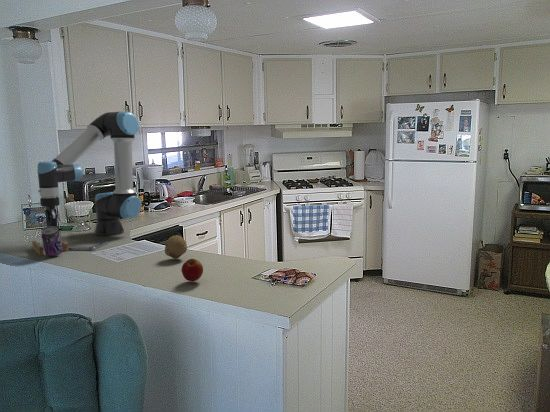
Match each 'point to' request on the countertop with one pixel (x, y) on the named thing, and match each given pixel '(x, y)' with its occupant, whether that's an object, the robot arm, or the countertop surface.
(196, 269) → the apple
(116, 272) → the countertop surface
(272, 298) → the countertop surface
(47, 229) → the beverage can
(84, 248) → the hinge
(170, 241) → the natural sponge
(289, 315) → the countertop surface
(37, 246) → the guide channel
